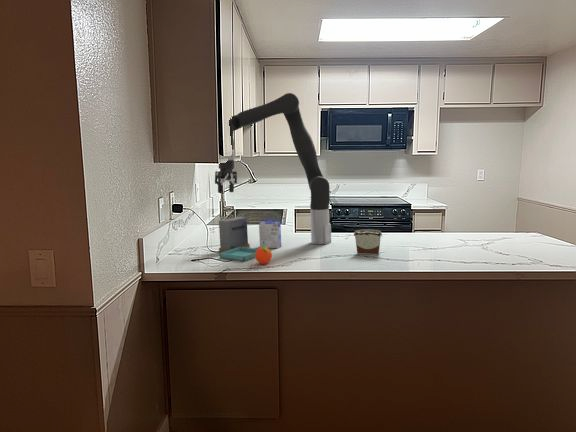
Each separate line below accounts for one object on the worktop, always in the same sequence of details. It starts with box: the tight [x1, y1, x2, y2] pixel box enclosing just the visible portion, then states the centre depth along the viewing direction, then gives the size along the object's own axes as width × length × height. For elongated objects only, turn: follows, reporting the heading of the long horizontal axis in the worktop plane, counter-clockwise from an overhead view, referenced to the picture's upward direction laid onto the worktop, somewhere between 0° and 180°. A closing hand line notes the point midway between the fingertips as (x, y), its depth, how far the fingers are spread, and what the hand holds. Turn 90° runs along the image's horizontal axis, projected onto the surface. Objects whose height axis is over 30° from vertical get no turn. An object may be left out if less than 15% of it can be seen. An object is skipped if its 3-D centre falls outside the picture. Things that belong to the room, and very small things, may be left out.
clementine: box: [254, 247, 273, 265], centre depth 168 cm, size 8×7×7 cm
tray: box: [219, 247, 259, 262], centre depth 183 cm, size 14×14×2 cm
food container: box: [353, 228, 383, 256], centre depth 181 cm, size 12×6×10 cm, turn 71°
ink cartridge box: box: [258, 216, 282, 249], centre depth 199 cm, size 10×6×14 cm, turn 78°
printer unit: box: [218, 216, 251, 253], centre depth 195 cm, size 7×14×15 cm, turn 145°
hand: (226, 192), depth 200 cm, fingers open, 8 cm apart
